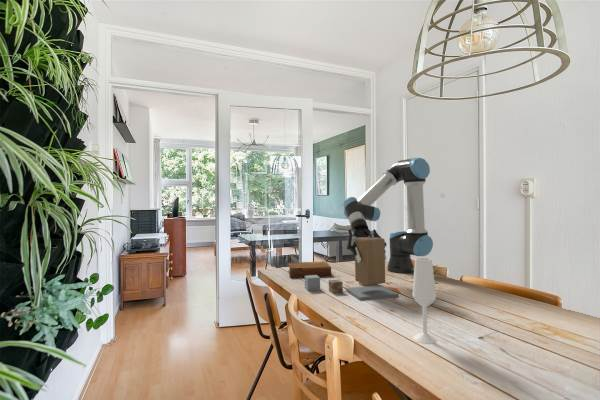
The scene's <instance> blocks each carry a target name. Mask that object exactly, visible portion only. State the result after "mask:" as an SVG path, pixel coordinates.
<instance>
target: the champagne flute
mask: <svg viewBox="0 0 600 400" xmlns="http://www.w3.org/2000/svg"><path fill="white" fill-rule="evenodd" d="M433 265H434V264H433V259H432V258H429V257H416V258H414V267H415V268H414V271H413V278H414V279H413V280H412V297H413V299H414V300H415V302H416V303H417V304H418V305H420V307H422V332H421V333H418V334H416V335H414V336H413V340H415V341H416V342H418V343H420V344H426V345H427V344H435V343H437V342H438V339H437V338H436V337H434V336H433V335H431V334H430V333H429V332H428V318H427V317H428V316H427V315H428V312H427V310H428V309H427V307H429V306H431V305H430V304H432V303H434V302H435V301H436V300H437V299H436V298H437V292H436V284H435V283H436V281H435V278H434V276H435V275H434V272H433V271H434V270H433V267H434V266H433ZM432 305H433V304H432Z"/></svg>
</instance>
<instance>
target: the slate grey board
mask: <svg viewBox="0 0 600 400" xmlns="http://www.w3.org/2000/svg"><path fill="white" fill-rule="evenodd" d="M345 292H347V293H348V294H349V295H351V296H353V297H355V298H356V300H359V301H367V300H377V299H387V298H388V299H389V298H399V293H398V292H395V291H393V290H391V289H390V288H388V287H386V286H384V285H382V284H378V285H371V286H358V287H346V288H345Z"/></svg>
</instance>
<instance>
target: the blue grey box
mask: <svg viewBox="0 0 600 400" xmlns="http://www.w3.org/2000/svg"><path fill="white" fill-rule="evenodd" d="M304 289H305V290H306V291H308V292H312V291H313V292H314V291H320V290H321V277H319V276H317V275H308V276H305V277H304Z"/></svg>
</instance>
